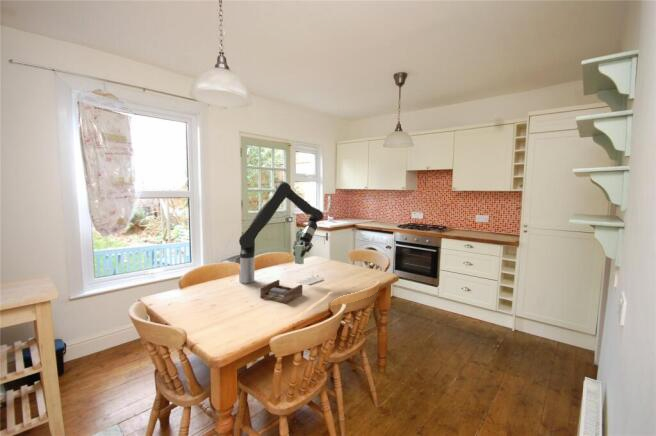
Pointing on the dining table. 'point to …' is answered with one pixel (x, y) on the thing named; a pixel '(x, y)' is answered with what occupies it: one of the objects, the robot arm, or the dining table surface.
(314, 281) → the pale grey flat slab
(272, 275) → the dining table surface
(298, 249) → the grey-green block
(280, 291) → the offcut short
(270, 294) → the offcut long
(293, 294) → the rack
